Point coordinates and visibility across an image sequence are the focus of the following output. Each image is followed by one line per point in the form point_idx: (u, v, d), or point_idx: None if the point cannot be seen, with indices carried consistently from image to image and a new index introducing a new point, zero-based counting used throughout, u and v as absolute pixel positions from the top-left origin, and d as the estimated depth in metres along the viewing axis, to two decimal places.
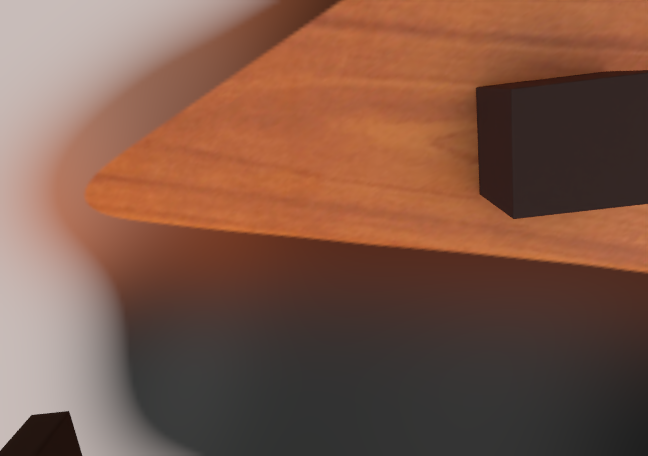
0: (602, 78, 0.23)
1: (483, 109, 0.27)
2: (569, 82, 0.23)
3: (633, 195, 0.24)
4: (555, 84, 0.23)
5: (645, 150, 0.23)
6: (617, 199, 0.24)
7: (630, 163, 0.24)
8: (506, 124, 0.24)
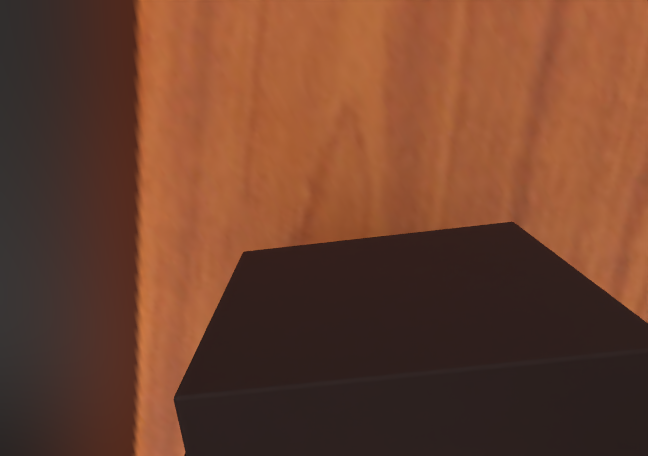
0: None
1: (480, 245, 0.10)
2: None
3: None
4: None
5: None
6: None
7: None
8: (517, 330, 0.07)
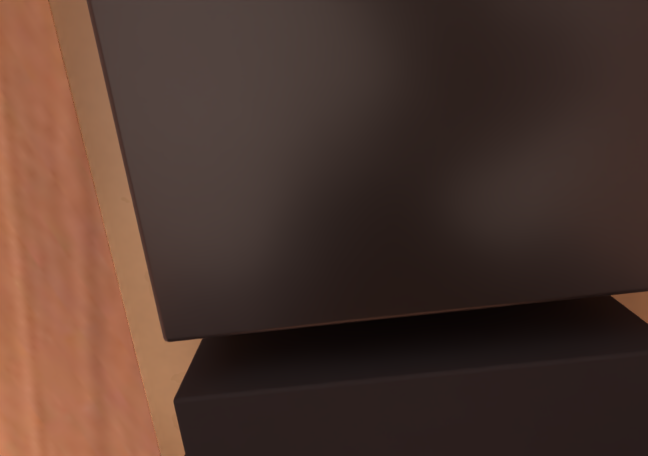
0: None
1: None
2: None
3: None
4: None
5: None
6: None
7: None
8: (519, 331, 0.07)
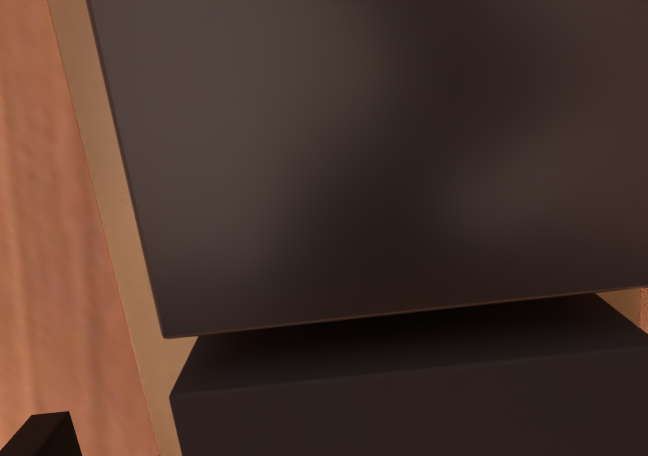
0: None
1: None
2: None
3: None
4: None
5: None
6: None
7: None
8: (506, 330, 0.07)
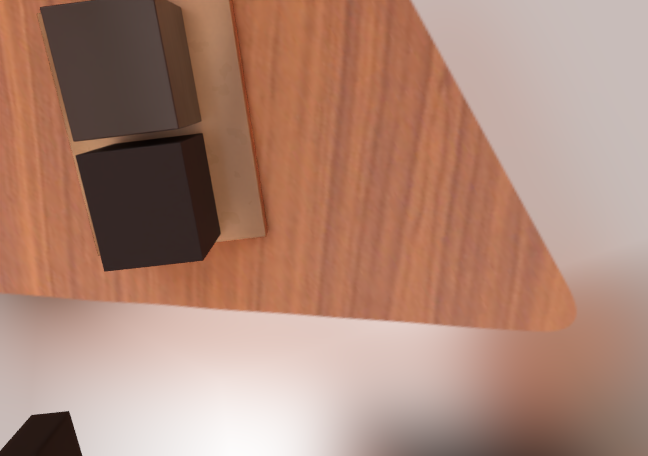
0: (193, 212, 0.30)
1: (180, 137, 0.33)
2: (189, 188, 0.29)
3: (106, 248, 0.30)
4: (186, 177, 0.29)
5: (142, 251, 0.30)
6: (102, 237, 0.30)
7: (131, 242, 0.30)
8: (155, 144, 0.29)
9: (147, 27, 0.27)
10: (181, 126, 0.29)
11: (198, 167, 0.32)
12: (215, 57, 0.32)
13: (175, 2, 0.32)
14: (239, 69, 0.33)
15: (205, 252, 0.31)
